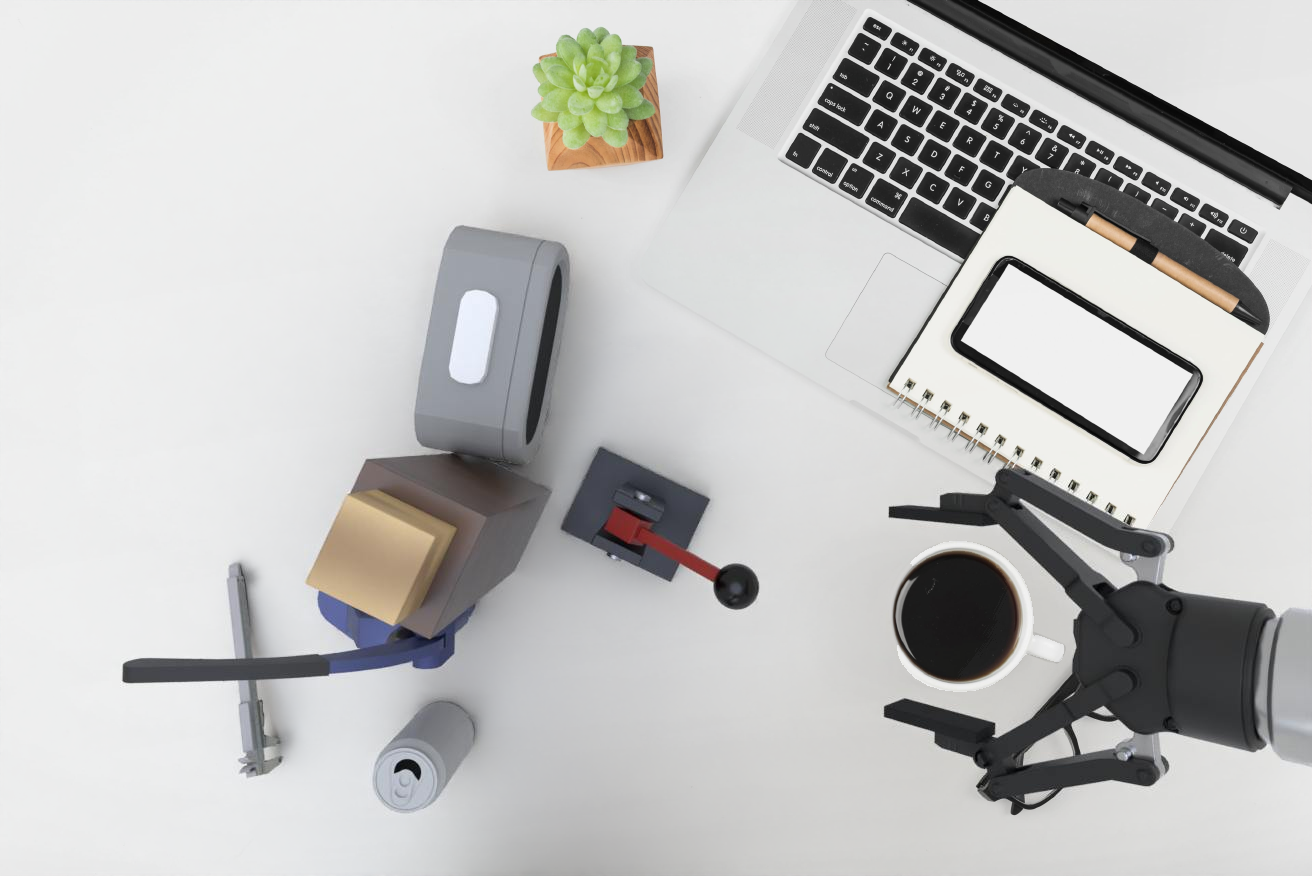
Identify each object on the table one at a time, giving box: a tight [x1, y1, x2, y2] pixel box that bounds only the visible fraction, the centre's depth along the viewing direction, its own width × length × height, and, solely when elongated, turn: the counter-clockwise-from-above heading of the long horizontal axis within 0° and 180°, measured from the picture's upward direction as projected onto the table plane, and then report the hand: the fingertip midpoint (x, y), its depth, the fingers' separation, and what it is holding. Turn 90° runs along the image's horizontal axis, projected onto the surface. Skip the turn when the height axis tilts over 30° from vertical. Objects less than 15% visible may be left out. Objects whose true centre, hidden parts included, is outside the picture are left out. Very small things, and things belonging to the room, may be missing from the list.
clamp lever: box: [604, 506, 760, 611], centre depth 68 cm, size 14×4×4 cm, turn 64°
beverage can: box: [372, 701, 475, 814], centre depth 77 cm, size 6×6×12 cm
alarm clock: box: [413, 224, 571, 466], centre depth 76 cm, size 21×10×13 cm, turn 170°
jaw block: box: [305, 489, 457, 626], centre depth 52 cm, size 6×6×5 cm
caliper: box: [226, 562, 283, 779], centre depth 80 cm, size 20×1×6 cm, turn 13°
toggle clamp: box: [560, 446, 711, 583], centre depth 75 cm, size 12×9×14 cm
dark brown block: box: [349, 452, 553, 639], centre depth 69 cm, size 9×9×28 cm
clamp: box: [121, 590, 476, 684], centre depth 69 cm, size 19×9×28 cm, turn 88°
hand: (895, 609), depth 57 cm, fingers open, 13 cm apart
